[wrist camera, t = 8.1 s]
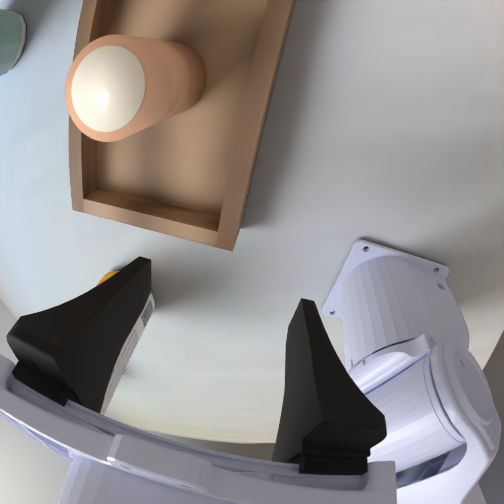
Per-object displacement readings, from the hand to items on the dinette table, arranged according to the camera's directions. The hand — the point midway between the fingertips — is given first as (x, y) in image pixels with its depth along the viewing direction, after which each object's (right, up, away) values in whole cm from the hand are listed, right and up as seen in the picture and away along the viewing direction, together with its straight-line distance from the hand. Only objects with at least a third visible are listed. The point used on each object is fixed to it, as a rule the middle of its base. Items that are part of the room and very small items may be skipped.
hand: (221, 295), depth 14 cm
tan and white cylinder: (-4, +13, +2) cm, 14 cm away
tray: (-4, +13, +3) cm, 14 cm away
